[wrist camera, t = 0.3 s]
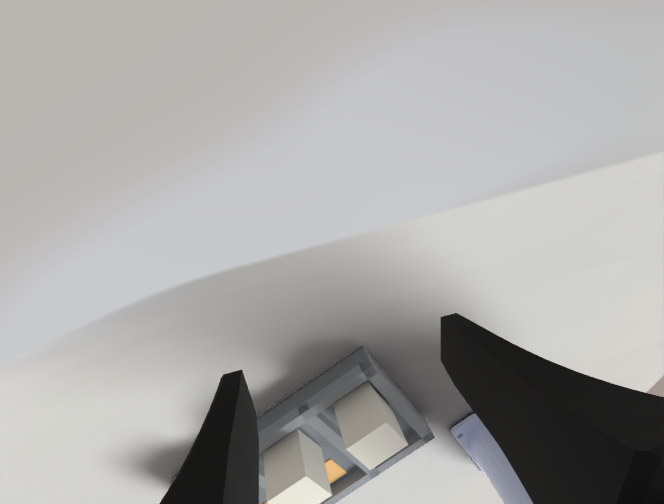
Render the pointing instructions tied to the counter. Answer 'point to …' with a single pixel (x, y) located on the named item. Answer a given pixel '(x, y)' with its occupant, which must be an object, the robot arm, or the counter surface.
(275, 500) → the cream rectangular block
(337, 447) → the grey divided tray
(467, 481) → the counter surface
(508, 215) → the counter surface
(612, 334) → the counter surface
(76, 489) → the counter surface
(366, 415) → the off-white rectangular block
